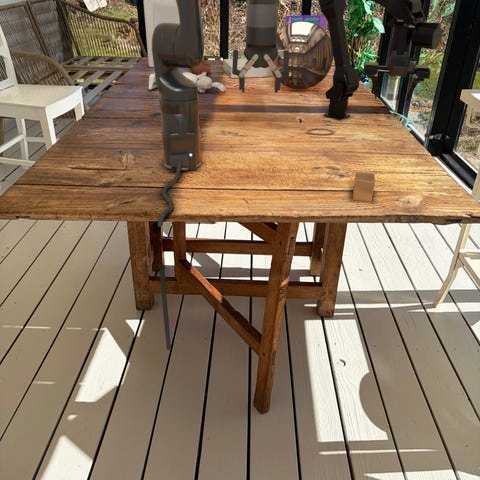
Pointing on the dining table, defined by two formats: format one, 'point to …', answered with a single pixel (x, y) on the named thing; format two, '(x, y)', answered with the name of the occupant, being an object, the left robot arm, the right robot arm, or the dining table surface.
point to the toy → (200, 80)
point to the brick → (363, 186)
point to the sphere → (304, 54)
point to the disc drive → (250, 73)
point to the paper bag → (158, 19)
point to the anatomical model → (202, 67)
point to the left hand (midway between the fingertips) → (259, 91)
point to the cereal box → (308, 19)
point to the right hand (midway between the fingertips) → (391, 99)
